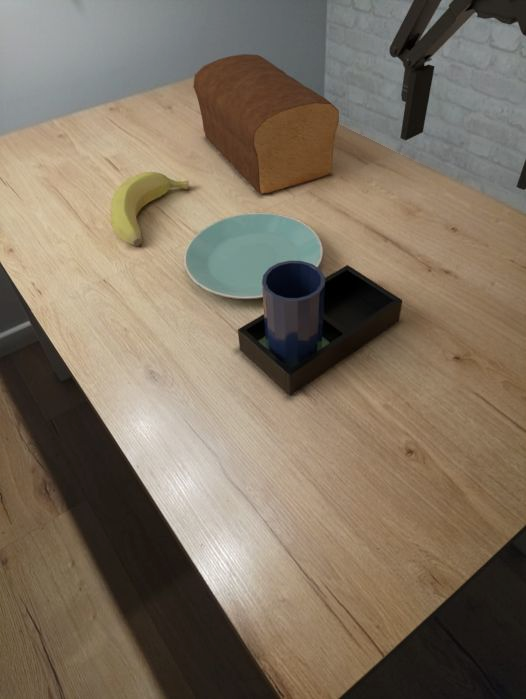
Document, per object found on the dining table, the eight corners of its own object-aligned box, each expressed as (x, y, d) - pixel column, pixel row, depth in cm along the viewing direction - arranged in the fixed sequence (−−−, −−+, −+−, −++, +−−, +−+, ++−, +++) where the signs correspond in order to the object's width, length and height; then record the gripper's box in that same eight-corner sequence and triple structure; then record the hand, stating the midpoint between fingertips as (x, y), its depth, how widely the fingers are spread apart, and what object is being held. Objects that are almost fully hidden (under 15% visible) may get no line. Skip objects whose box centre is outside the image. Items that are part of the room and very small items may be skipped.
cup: (333, 350, 69) (337, 281, 60) (291, 378, 66) (290, 309, 57) (296, 321, 73) (296, 252, 65) (255, 346, 70) (249, 278, 62)
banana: (83, 187, 89) (171, 156, 100) (84, 213, 93) (169, 180, 105) (134, 232, 85) (220, 194, 97) (133, 257, 89) (215, 218, 101)
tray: (398, 321, 73) (402, 300, 70) (290, 396, 65) (289, 375, 62) (345, 285, 79) (347, 264, 76) (239, 350, 71) (237, 329, 68)
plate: (178, 313, 77) (175, 299, 75) (193, 228, 92) (190, 214, 90) (327, 308, 76) (328, 294, 74) (318, 223, 91) (318, 209, 89)
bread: (270, 119, 121) (268, 43, 109) (337, 174, 102) (343, 89, 90) (198, 138, 116) (187, 60, 104) (255, 199, 97) (249, 113, 86)
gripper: (775, -140, 30) (611, 191, 45) (428, -148, 44) (394, 108, 59) (719, -124, 27) (565, 225, 42) (366, -138, 41) (347, 129, 56)
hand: (465, 157), depth 51 cm, fingers open, 13 cm apart
